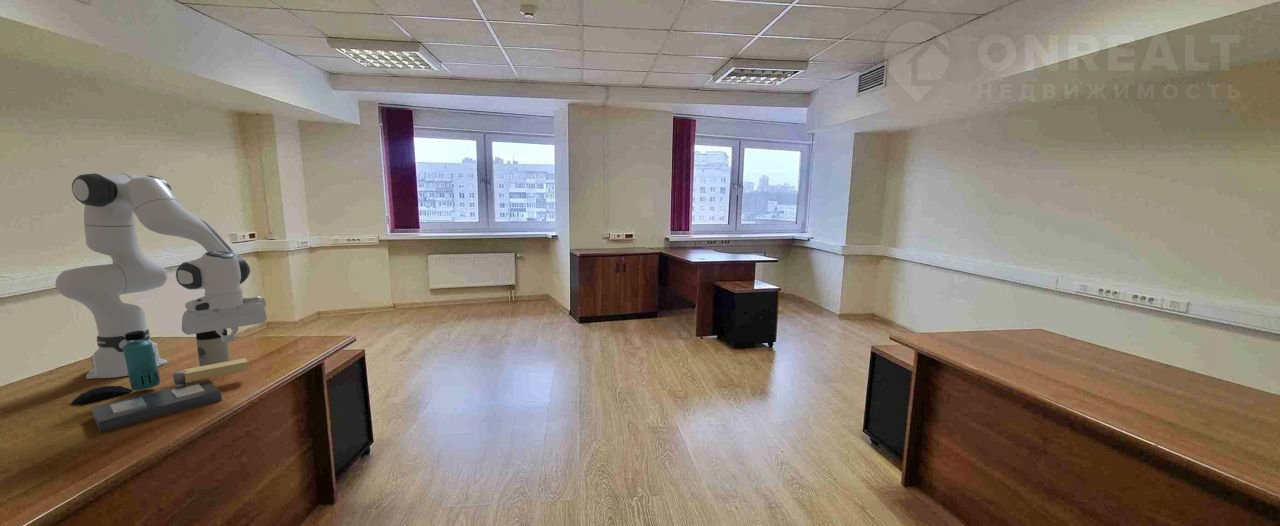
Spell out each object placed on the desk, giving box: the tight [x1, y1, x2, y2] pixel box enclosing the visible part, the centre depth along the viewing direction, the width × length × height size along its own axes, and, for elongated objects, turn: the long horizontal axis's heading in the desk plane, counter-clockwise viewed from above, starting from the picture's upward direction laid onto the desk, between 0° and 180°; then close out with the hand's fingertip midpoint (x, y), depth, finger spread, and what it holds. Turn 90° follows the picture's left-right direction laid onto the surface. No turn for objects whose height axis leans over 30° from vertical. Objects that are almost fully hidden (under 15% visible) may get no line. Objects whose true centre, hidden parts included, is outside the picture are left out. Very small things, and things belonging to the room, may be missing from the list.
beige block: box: [172, 357, 249, 384], centre depth 143 cm, size 18×5×3 cm, turn 138°
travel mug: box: [195, 329, 231, 367], centre depth 154 cm, size 8×8×18 cm
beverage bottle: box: [122, 331, 161, 391], centre depth 137 cm, size 6×7×20 cm
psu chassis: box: [91, 379, 223, 433], centre depth 129 cm, size 17×24×4 cm
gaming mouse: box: [71, 385, 134, 406], centre depth 135 cm, size 6×15×4 cm, turn 145°
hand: (228, 341), depth 142 cm, fingers closed
